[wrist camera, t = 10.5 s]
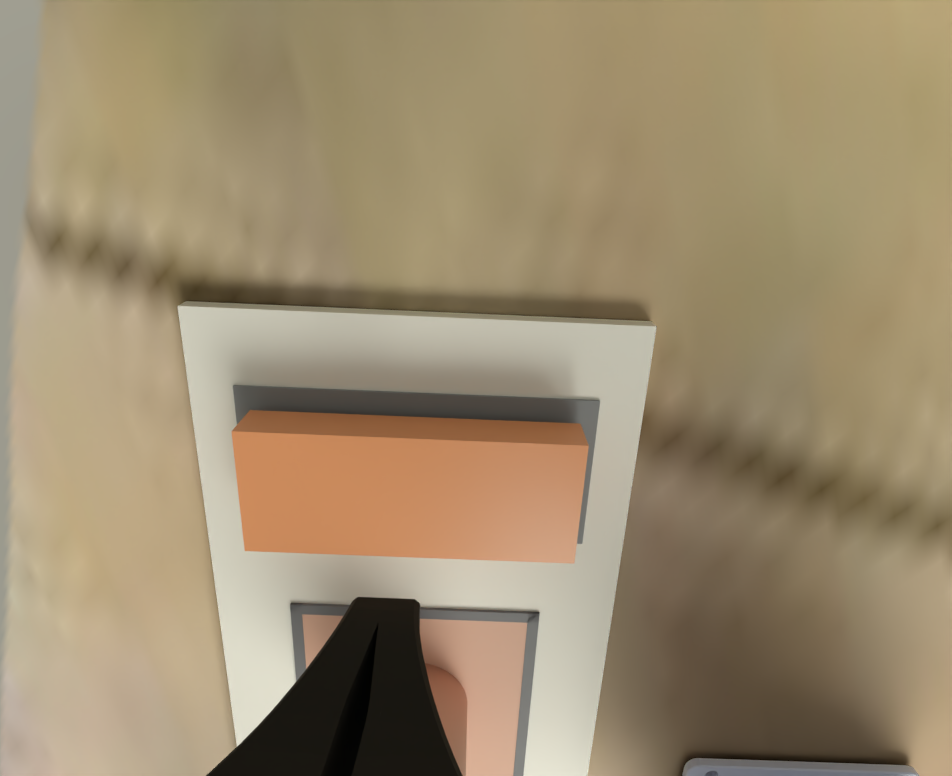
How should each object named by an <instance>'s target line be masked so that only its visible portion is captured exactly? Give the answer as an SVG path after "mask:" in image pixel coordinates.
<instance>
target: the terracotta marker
mask: <svg viewBox="0 0 952 776" xmlns="http://www.w3.org/2000/svg"><path fill="white" fill-rule="evenodd" d="M425 666H426V670H427V675H428V679H429V683H430V687H431V690H432V694H433V697H434V701H435V704H436V707H437V710H438V714H439V717H440V720H441V723H442V726H443V728H444V731H445V734H446V737H447V739H448V742H449V744H450V747H451V749H452V752H453V755H454V757H455V759H456V762H457V764H458V766H459V769H460V771H461V773H462V775H463V776H466V748H467V696H466V693H465V690H464V688H463V687H462V685H461V684H460V682H459V681H458V680H457V679H456V678H455V677H454V676H453V675H451V674H450V673H449V672H447V671H445V670H443V669H441V668H439V667H437V666H434V665H430V664H426V663H425Z"/></svg>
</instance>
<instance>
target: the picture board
mask: <svg viewBox="0 0 952 776" xmlns="http://www.w3.org/2000/svg"><path fill="white" fill-rule="evenodd" d="M178 314H179V321H180V329H181V336H182V343H183V351H184V358H185V366H186V373H187V381H188V388H189V395H190V403H191V410H192V418H193V425H194V432H195V440H196V447H197V455H198V462H199V469H200V477H201V484H202V492H203V499H204V506H205V514H206V521H207V529H208V536H209V544H210V551H211V558H212V566H213V573H214V581H215V588H216V595H217V603H218V610H219V618H220V625H221V632H222V640H223V647H224V655H225V662H226V669H227V677H228V684H229V692H230V699H231V706H232V714H233V721H234V729H235V736H236V744H237V746H238V745H239V744H240V743H241V742H242V741H243V740H244V739H245V738H246V737H247V736H248V735H249V734H250V733H251V732H252V731H253V730H254V729H255V728H256V727H257V726H258V725H259V724H260V723H261V722H262V721H263V720H264V718H265V717H266V716H267V715H268V714H269V713H270V712H271V711H272V710H273V709H274V707H275V706H276V705H277V704H278V703H279V702H280V700H281V699H282V698H283V697H284V696H285V694H286V693H287V692H288V691H289V690H290V688H291V687H292V686H293V685H294V684H295V682H296V681H297V680H298V679H299V678H300V676H301V675H302V674H303V673H304V671H305V670H306V669H307V667H308V666H309V665H310V663H311V662H312V661H313V659H314V658H315V657H316V655H317V654H318V653H319V651H320V650H321V649H322V647H323V646H324V644H325V643H326V642H327V640H328V639H329V637H330V636H331V634H332V633H333V631H334V630H335V628H336V627H337V625H338V624H339V622H340V621H341V619H342V618H343V616H344V614H345V613H346V611H347V610H348V608H349V606H350V604H351V603H352V601H353V600H354V599H355V598H357V597H376V598H401V599H416V600H417V601H418V602H419V603H420V638H421V646H422V652H423V657H424V662H425V663H426V664H430V665H434V666H437V667H439V668H441V669H443V670H445V671H447V672H449V673H450V674H451V675H453V676H454V677H455V678H456V679H457V680H458V681H459V682H460V684H461V685H462V687H463V688H464V690H465V693H466V696H467V748H466V776H587V775H588V768H589V762H590V755H591V749H592V742H593V736H594V729H595V723H596V716H597V710H598V703H599V697H600V690H601V684H602V677H603V671H604V664H605V658H606V651H607V645H608V638H609V632H610V626H611V619H612V613H613V606H614V600H615V593H616V587H617V580H618V574H619V567H620V561H621V554H622V548H623V541H624V535H625V528H626V522H627V515H628V509H629V502H630V496H631V489H632V483H633V476H634V470H635V463H636V457H637V450H638V444H639V438H640V431H641V425H642V418H643V412H644V405H645V399H646V392H647V386H648V379H649V373H650V366H651V360H652V353H653V347H654V340H655V334H656V327H657V326H656V325H655V324H654V323H653V322H652V321H636V320H613V319H590V318H567V317H544V316H520V315H497V314H474V313H451V312H428V311H404V310H381V309H358V308H335V307H312V306H288V305H265V304H242V303H219V302H195V301H186V302H184V303H182V304H180V305H178ZM250 410H262V411H286V412H311V413H335V414H360V415H384V416H408V417H433V418H457V419H481V420H506V421H530V422H555V423H579V424H581V426H582V429H583V432H584V434H585V437H586V440H587V442H588V445H589V448H588V456H587V464H586V472H585V481H584V489H583V497H582V505H581V513H580V522H579V530H578V538H577V546H576V554H575V563H574V564H570V563H544V562H518V561H492V560H466V559H440V558H413V557H387V556H361V555H335V554H309V553H283V552H257V551H245V549H244V540H243V531H242V522H241V513H240V504H239V495H238V486H237V477H236V468H235V459H234V450H233V441H232V432H231V431H232V430H233V429H234V428H235V427H236V425H237V424H238V423H239V422H240V421H241V420H242V419H243V417H244V416H245V415H246V414H247V413H248V412H249V411H250Z"/></svg>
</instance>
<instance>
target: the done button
mask: <svg viewBox="0 0 952 776" xmlns="http://www.w3.org/2000/svg"><path fill="white" fill-rule="evenodd" d="M231 432H232V441H233V450H234V459H235V468H236V477H237V486H238V495H239V504H240V513H241V522H242V531H243V540H244V549H245V551H257V552H283V553H309V554H335V555H361V556H387V557H413V558H440V559H466V560H492V561H518V562H544V563H570V564H574V563H575V554H576V546H577V538H578V530H579V522H580V513H581V505H582V497H583V489H584V481H585V472H586V464H587V456H588V448H589V445H588V442H587V440H586V437H585V434H584V432H583V429H582V426H581V424H579V423H555V422H530V421H506V420H481V419H457V418H433V417H408V416H384V415H360V414H335V413H311V412H286V411H262V410H250V411H249V412H248V413H247V414H246V415H245V416H244V417H243V419H242V420H241V421H240V422H239V423H238V424H237V425H236V427H235V428H234V429H233V430H232V431H231Z"/></svg>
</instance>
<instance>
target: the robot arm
mask: <svg viewBox="0 0 952 776" xmlns="http://www.w3.org/2000/svg"><path fill="white" fill-rule="evenodd" d="M206 776H463V775H462V773H461V771H460V769H459V766H458V764H457V762H456V759H455V757H454V755H453V752H452V749H451V747H450V744H449V742H448V739H447V737H446V734H445V731H444V728H443V726H442V723H441V720H440V717H439V714H438V710H437V707H436V704H435V701H434V697H433V694H432V690H431V687H430V683H429V679H428V675H427V670H426V666H425V662H424V657H423V652H422V646H421V638H420V603H419V602H418V601H417V600H416V599H401V598H376V597H357V598H355V599H354V600H353V601H352V603H351V604H350V606H349V608H348V610H347V611H346V613H345V614H344V616H343V618H342V619H341V621H340V622H339V624H338V625H337V627H336V628H335V630H334V631H333V633H332V634H331V636H330V637H329V639H328V640H327V642H326V643H325V644H324V646H323V647H322V649H321V650H320V651H319V653H318V654H317V655H316V657H315V658H314V659H313V661H312V662H311V663H310V665H309V666H308V667H307V669H306V670H305V671H304V673H303V674H302V675H301V676H300V678H299V679H298V680H297V681H296V682H295V684H294V685H293V686H292V687H291V688H290V690H289V691H288V692H287V693H286V694H285V696H284V697H283V698H282V699H281V700H280V702H279V703H278V704H277V705H276V706H275V707H274V709H273V710H272V711H271V712H270V713H269V714H268V715H267V716H266V717H265V718H264V720H263V721H262V722H261V723H260V724H259V725H258V726H257V727H256V728H255V729H254V730H253V731H252V732H251V733H250V734H249V735H248V736H247V737H246V738H245V739H244V740H243V741H242V742H241V743H240V744H239V745H238V746H237V747H236V748H235V749H234V750H233V751H232V752H231V753H230V754H229V755H228V756H227V757H226V758H225V759H224V760H222V761H221V762H220V763H219V764H218V765H217V766H216V767H215V768H214V769H213V770H212V771H211V772H210V773H209V774H207V775H206ZM682 776H919V775H918V773H917V772H916V771H915V769H914V768H913V767H911V766H907V765H887V764H858V763H829V762H800V761H771V760H742V759H714V758H693V759H691V760H689V761H688V762H687V763H686V764H685V766H684V770H683V774H682Z"/></svg>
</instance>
